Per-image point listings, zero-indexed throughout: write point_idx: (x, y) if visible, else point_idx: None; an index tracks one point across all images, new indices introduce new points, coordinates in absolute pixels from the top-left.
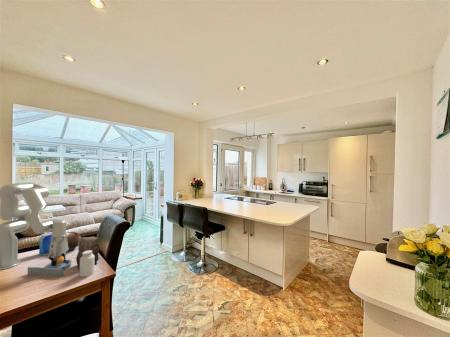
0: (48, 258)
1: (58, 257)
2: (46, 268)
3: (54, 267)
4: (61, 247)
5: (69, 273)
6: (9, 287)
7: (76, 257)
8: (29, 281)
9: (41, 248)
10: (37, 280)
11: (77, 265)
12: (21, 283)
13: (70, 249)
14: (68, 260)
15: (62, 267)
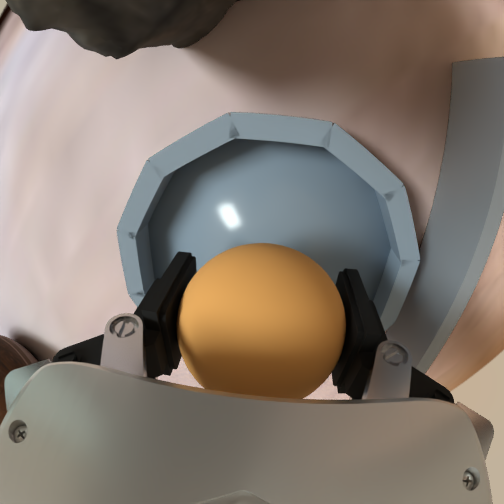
0: (474, 422)
1: (302, 362)
2: (464, 301)
3: None
4: None
5: (404, 11)
6: (496, 347)
7: (133, 23)
8: (480, 304)
9: None
10: (489, 259)
11: (212, 19)
12: (483, 329)
13: (25, 353)
14: (139, 227)
15: (360, 146)
